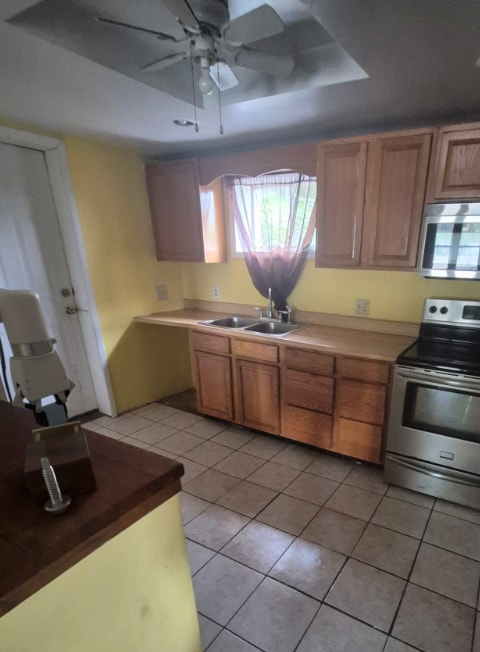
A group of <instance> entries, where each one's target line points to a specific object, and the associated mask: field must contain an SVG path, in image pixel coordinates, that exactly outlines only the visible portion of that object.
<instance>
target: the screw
mask: <svg viewBox="0 0 480 652" xmlns="http://www.w3.org/2000/svg"><path fill="white" fill-rule="evenodd" d="M41 464H42V468H43V470H42V471H43V473H42V474H44V475H43V476H44V477H45V478H44V479H46V480H45V482H46V484H47V487H48V488H47V489H49V490H48V491H49V494H50V496H51V497H50V498H51V499H49V500H48V501H47V502H46V503H45V504H44V505H43V510H44V511H45V512H48V513H52V514H53V515H55V516H59V515H62V514H65V513H66V512H67V510H68V509H69V507H68V506H70V505H71V503H73V502H72V497H70V496H67V495H61V493H60V490H59V488H58V487H59V486H58V483H57V481H56V478H55V477H56V476H55V473H54V471H53V468H52V466H50V463H49V460H48V458H47V457H43V458H42V459H41Z"/></svg>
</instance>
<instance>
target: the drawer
mask: <svg viewBox="0 0 480 652" xmlns="http://www.w3.org/2000/svg"><path fill="white" fill-rule="evenodd" d="M78 432H83V429H82V425H81V421H80V420H76V421H75V420H74V421H69V422H63V423H60V424H57V425H55V426H53V427H49V426H48V427H40V428H35V429H32V430H31V433H32V437H33V440H34V442H37V441H41V440H46V439H51V438H55V437H60V436H64V435H69V434H74V433H78Z"/></svg>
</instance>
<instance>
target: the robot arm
mask: <svg viewBox="0 0 480 652" xmlns="http://www.w3.org/2000/svg"><path fill="white" fill-rule="evenodd" d="M0 324H3V328H4V330H5V333H6V336H7V341H8V343H9V347H10V349H11V353H12V356H10V357H9V373H10V379H11V383H12V387H13V392H14V398H13V400H12V403H11V405H12V406H13V407H17V408H21V409H26V410H29V411H31V412H32V413H33V417H34V420H35V423H36V424H37V425H38V426H41V427H42V428H45V427H49V423H48V420H47V417H46V413H45V411H42V406H43V404H42V399H45V398H48V397H50V396H53V398H54V400H55V401H53V403H56V404H59V405H63V407H64V411H65V414H66V418H67V420H68V419H69V415H68V414H69V411H68V407H67V402H68V398H69V396H70V394H71V392H72V391H73V390H74V388H75V387H76V384H75V383H74V382H73V381H72V380H71V379H70V378H69V377H68V373H67V370H66V367H65V365H64V362H63V360H62V358H61V356H60V355H59V353H58V351H57V349H54V345H56V344H57V343H58V341H57V338H55V337H51V335H50V332H49V328H48V324H47V320H46V317H45V313H44V309H43V305H42V302H41V298H40V296H39V294H38V292H36V291H34V290H31V289H8V288H1V287H0ZM24 399H26V401H27V402H26V401H25V402H24Z"/></svg>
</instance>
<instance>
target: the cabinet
mask: <svg viewBox="0 0 480 652" xmlns="http://www.w3.org/2000/svg"><path fill="white" fill-rule="evenodd" d="M86 436H87V435H86V432H85V431H84V430H82V432H78V433H74V434H69V435H64V436H60V437H55V438H51V439H46V440H41V441H37V442H35V441H32V442H28V443H26V447H25V448H26V449H25V450H26V451H25V460H24V461H25V463H24V472H23V474H24V477H25V480H26V482H27V485H28V489H29V491H30V494H31V497H32V500H33V503H34V505H35V508H38V507H41V506H44V504H45V503H46V502H47V501H48V500H49V499H51V498H50V497H51V496H50V494H49V491H48V490H49V489H47V488H48V487H47V484H46V482H45V480H46V479H44V478H45V477H44V476H43V475H44V474H42V473H43V471H42V470H43V468H42V464H41V459H42V458H43V457H47V458H48V460H49V463H50V466H52V468H53V471H54V473H55V476H56V477H55V478H56V481H57V483H58V486H59V487H58V488H59V490H60V493H61V495H67V496H70V497H71V498H72V497H76V496H80V495H83V494H86V493H90V492H92V491H97V490H98V489H99V488H98V484H97V480H96V479H97V478H96V474H95V470H94V464H93V460H92V456H91V451H90V448H89V444H88V440H87V437H86Z"/></svg>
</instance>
